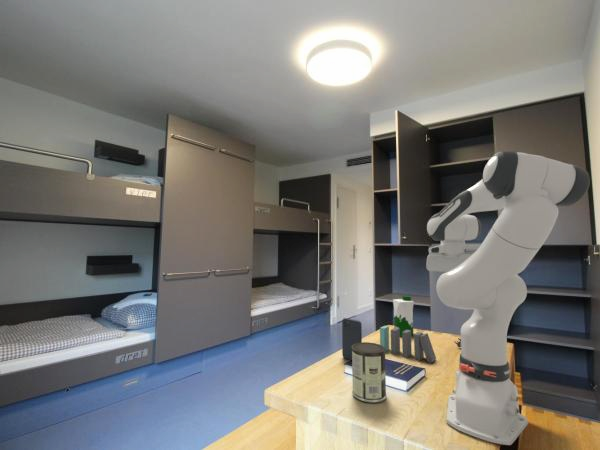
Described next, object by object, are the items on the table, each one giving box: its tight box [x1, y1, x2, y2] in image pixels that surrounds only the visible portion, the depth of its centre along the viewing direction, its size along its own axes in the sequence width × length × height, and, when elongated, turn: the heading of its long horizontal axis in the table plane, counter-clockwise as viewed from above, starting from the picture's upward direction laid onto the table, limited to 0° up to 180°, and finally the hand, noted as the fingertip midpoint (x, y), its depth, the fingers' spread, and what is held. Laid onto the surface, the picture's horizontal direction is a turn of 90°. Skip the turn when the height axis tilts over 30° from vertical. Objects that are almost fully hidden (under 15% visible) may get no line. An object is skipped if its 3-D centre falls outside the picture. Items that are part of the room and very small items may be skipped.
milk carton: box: [392, 295, 415, 338], centre depth 154 cm, size 9×9×20 cm
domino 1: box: [379, 325, 390, 352], centre depth 131 cm, size 2×5×10 cm, turn 140°
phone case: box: [341, 317, 363, 361], centre depth 119 cm, size 9×2×16 cm, turn 46°
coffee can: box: [351, 341, 387, 403], centre depth 91 cm, size 10×10×14 cm
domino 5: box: [419, 332, 437, 364], centre depth 119 cm, size 2×5×10 cm, turn 140°
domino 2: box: [390, 327, 401, 356], centre depth 127 cm, size 2×5×10 cm, turn 140°
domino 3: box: [401, 330, 413, 359], centre depth 124 cm, size 2×5×10 cm, turn 140°
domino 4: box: [413, 331, 425, 361], centre depth 121 cm, size 2×5×10 cm, turn 140°
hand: (454, 283), depth 118 cm, fingers closed
